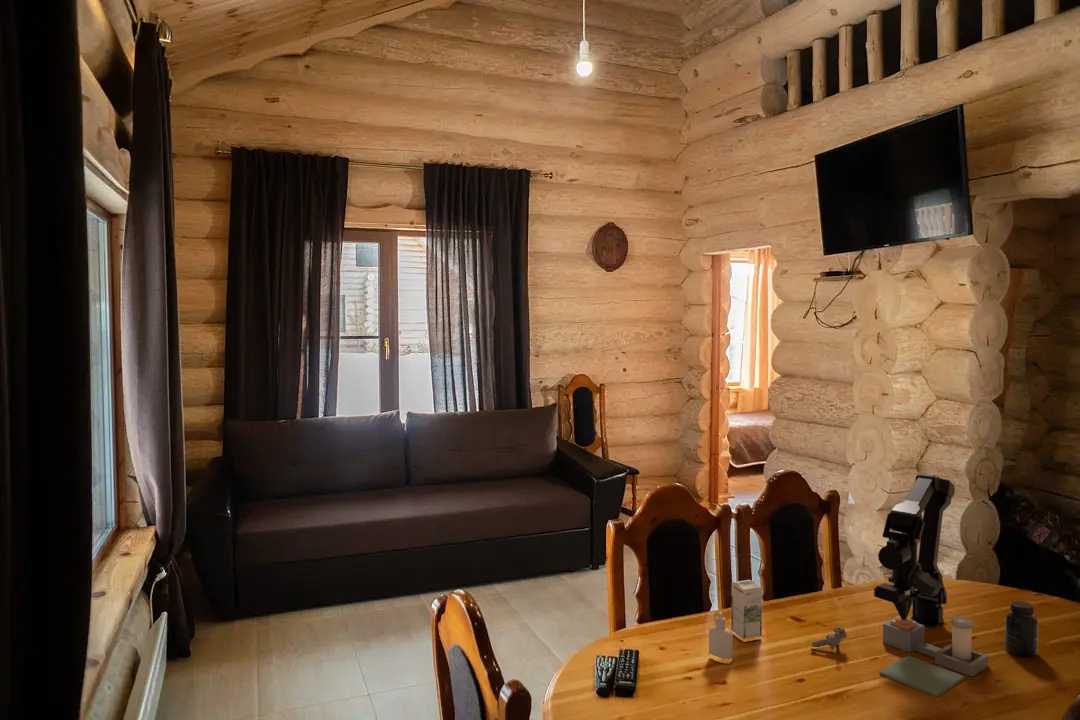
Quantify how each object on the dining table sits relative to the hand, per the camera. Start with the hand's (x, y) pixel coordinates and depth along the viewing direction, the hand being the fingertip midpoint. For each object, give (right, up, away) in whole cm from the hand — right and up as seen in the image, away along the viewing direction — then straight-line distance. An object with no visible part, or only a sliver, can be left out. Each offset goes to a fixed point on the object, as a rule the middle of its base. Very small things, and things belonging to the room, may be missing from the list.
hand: (903, 618), depth 186 cm
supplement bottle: (+26, -7, -5) cm, 28 cm away
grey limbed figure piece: (-20, -7, -3) cm, 21 cm away
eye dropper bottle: (-48, -8, -6) cm, 49 cm away
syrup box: (-38, -7, +6) cm, 40 cm away
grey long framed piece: (+4, -7, -6) cm, 10 cm away
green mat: (-4, -8, -16) cm, 18 cm away
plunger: (0, -6, 0) cm, 6 cm away
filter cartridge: (+8, -7, -11) cm, 15 cm away
